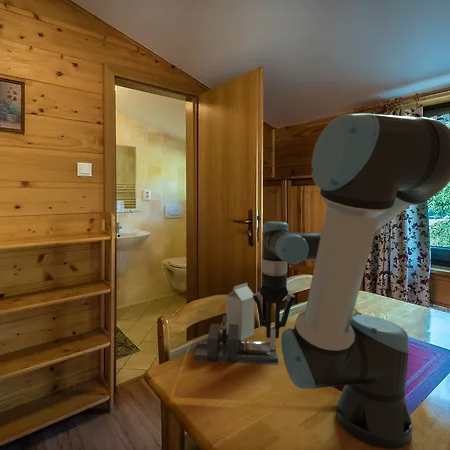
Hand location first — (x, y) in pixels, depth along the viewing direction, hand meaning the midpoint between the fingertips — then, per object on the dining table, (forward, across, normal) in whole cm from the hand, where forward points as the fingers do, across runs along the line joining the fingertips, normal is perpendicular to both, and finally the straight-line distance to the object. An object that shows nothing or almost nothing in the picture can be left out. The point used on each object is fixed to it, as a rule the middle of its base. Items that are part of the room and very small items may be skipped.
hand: (272, 347), depth 98 cm
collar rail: (+3, +11, 0) cm, 12 cm away
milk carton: (+4, +10, -13) cm, 17 cm away
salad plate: (+4, -33, -31) cm, 46 cm away
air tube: (+2, +7, 0) cm, 7 cm away
